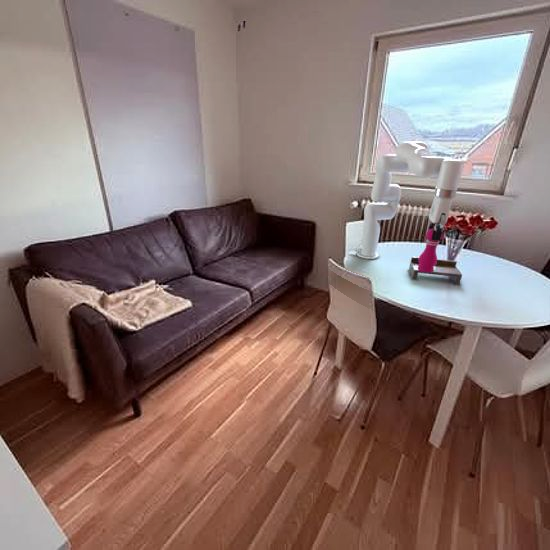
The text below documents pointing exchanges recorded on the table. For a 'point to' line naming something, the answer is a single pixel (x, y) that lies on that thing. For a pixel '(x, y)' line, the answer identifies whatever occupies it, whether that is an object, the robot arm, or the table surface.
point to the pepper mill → (428, 254)
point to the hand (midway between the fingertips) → (433, 237)
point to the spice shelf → (437, 269)
